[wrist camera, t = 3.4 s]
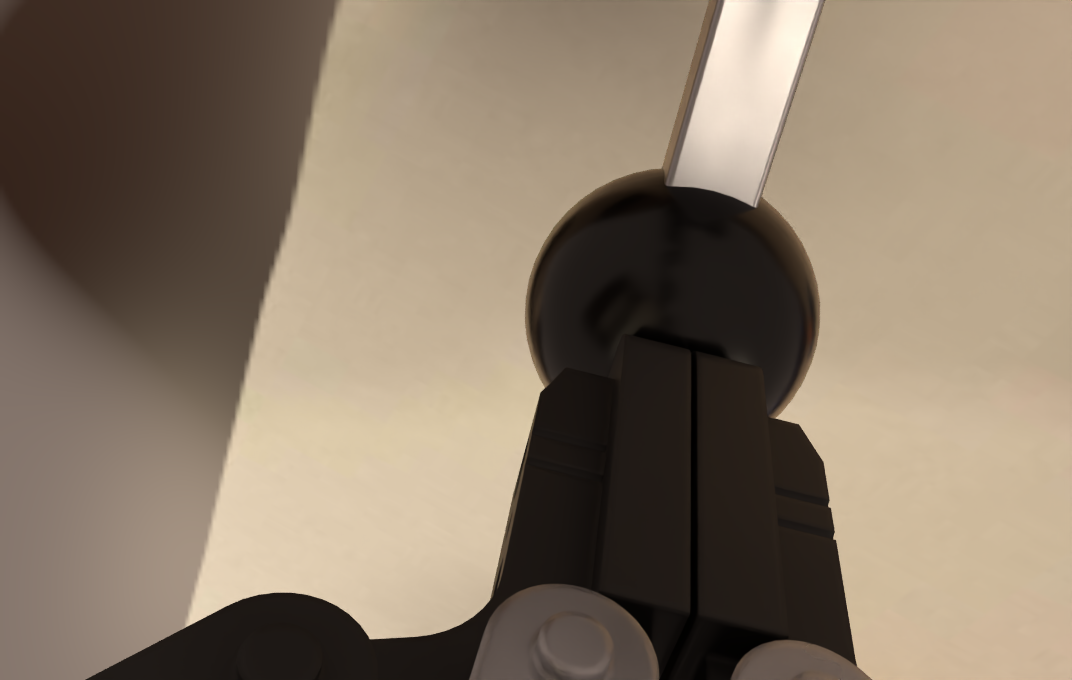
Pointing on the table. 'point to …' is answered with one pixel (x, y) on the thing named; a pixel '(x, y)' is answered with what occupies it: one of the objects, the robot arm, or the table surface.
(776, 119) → the lever
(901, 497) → the table surface
